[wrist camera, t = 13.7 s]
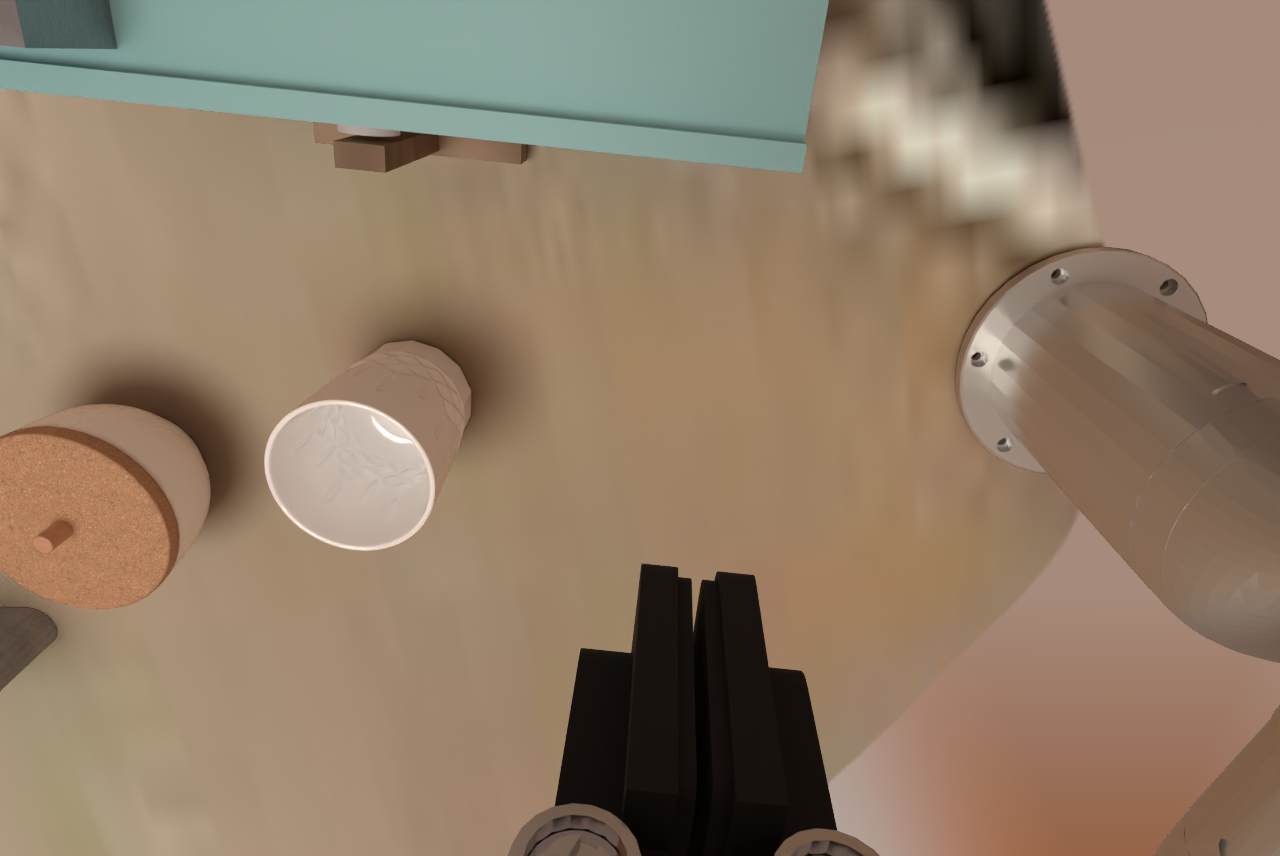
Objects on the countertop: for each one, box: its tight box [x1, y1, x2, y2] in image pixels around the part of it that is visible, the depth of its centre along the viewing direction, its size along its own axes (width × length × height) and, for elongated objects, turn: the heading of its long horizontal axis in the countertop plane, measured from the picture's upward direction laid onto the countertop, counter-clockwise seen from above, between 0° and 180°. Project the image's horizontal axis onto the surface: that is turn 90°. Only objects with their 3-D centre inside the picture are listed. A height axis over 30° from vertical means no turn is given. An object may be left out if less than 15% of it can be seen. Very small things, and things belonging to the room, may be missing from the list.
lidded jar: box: [0, 404, 211, 609], centre depth 44 cm, size 11×11×9 cm
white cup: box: [264, 340, 471, 550], centre depth 41 cm, size 8×8×10 cm
